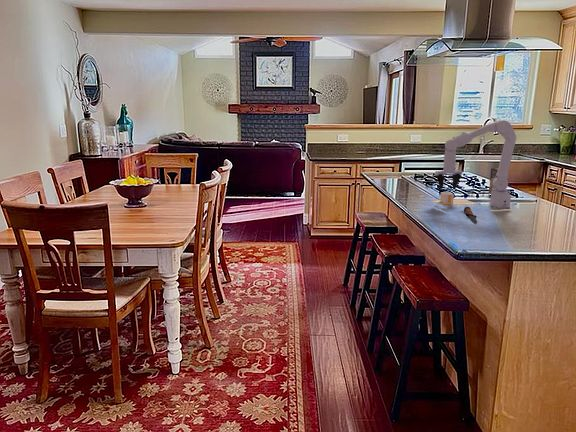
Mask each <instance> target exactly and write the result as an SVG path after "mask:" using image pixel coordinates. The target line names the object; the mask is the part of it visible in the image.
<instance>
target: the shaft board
mask: <svg viewBox="0 0 576 432" xmlns="http://www.w3.org/2000/svg"><path fill="white" fill-rule="evenodd" d="M429 201H431V202H433V203H436V204H438V205H441V206H443V207H452V206H455V207H456V206H473V205H477V206H478V203H476V202H473V201H470V200H467V199H464V198H453V203H448V204H445V203H442V202H440V199H429Z"/></svg>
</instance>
